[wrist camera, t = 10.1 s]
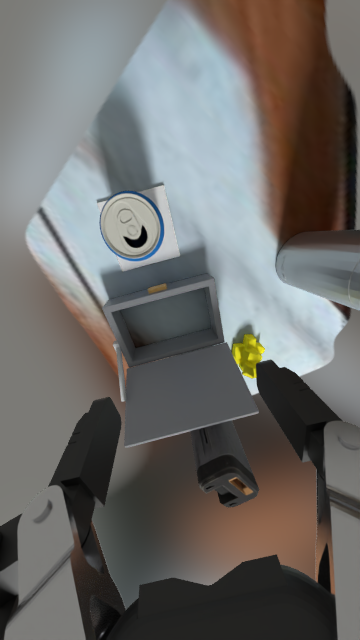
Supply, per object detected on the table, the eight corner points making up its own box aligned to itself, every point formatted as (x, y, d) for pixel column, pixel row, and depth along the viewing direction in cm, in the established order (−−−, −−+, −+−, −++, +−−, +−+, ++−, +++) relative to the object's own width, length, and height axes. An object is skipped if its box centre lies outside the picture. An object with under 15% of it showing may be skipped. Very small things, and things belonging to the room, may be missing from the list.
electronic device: (179, 379, 42) (194, 487, 24) (201, 365, 41) (234, 467, 23) (200, 401, 46) (228, 511, 27) (221, 389, 45) (264, 494, 26)
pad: (163, 185, 27) (163, 184, 26) (180, 255, 31) (180, 256, 31) (97, 203, 27) (96, 203, 27) (122, 271, 31) (122, 271, 31)
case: (208, 269, 32) (249, 296, 18) (222, 349, 40) (259, 414, 25) (102, 297, 33) (55, 347, 18) (135, 372, 40) (121, 451, 25)
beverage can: (135, 261, 30) (121, 274, 19) (111, 221, 28) (80, 210, 17) (170, 241, 30) (176, 243, 19) (148, 198, 27) (141, 172, 16)
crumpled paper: (260, 333, 39) (283, 354, 32) (254, 364, 43) (273, 389, 35) (234, 334, 39) (250, 356, 32) (229, 365, 42) (243, 391, 35)
